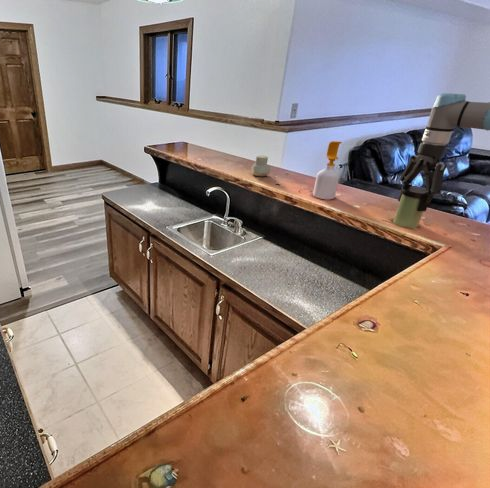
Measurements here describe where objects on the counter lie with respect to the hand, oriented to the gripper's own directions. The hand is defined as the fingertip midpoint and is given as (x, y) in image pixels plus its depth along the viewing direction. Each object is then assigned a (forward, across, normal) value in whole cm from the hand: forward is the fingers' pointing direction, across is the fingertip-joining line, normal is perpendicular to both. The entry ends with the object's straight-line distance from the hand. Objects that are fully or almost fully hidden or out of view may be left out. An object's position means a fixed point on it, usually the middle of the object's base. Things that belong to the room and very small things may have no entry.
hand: (411, 205), depth 128 cm
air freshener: (+8, -67, -34) cm, 76 cm away
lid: (-6, 0, 0) cm, 6 cm away
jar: (+7, 0, 0) cm, 7 cm away
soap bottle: (+7, -32, -16) cm, 36 cm away
